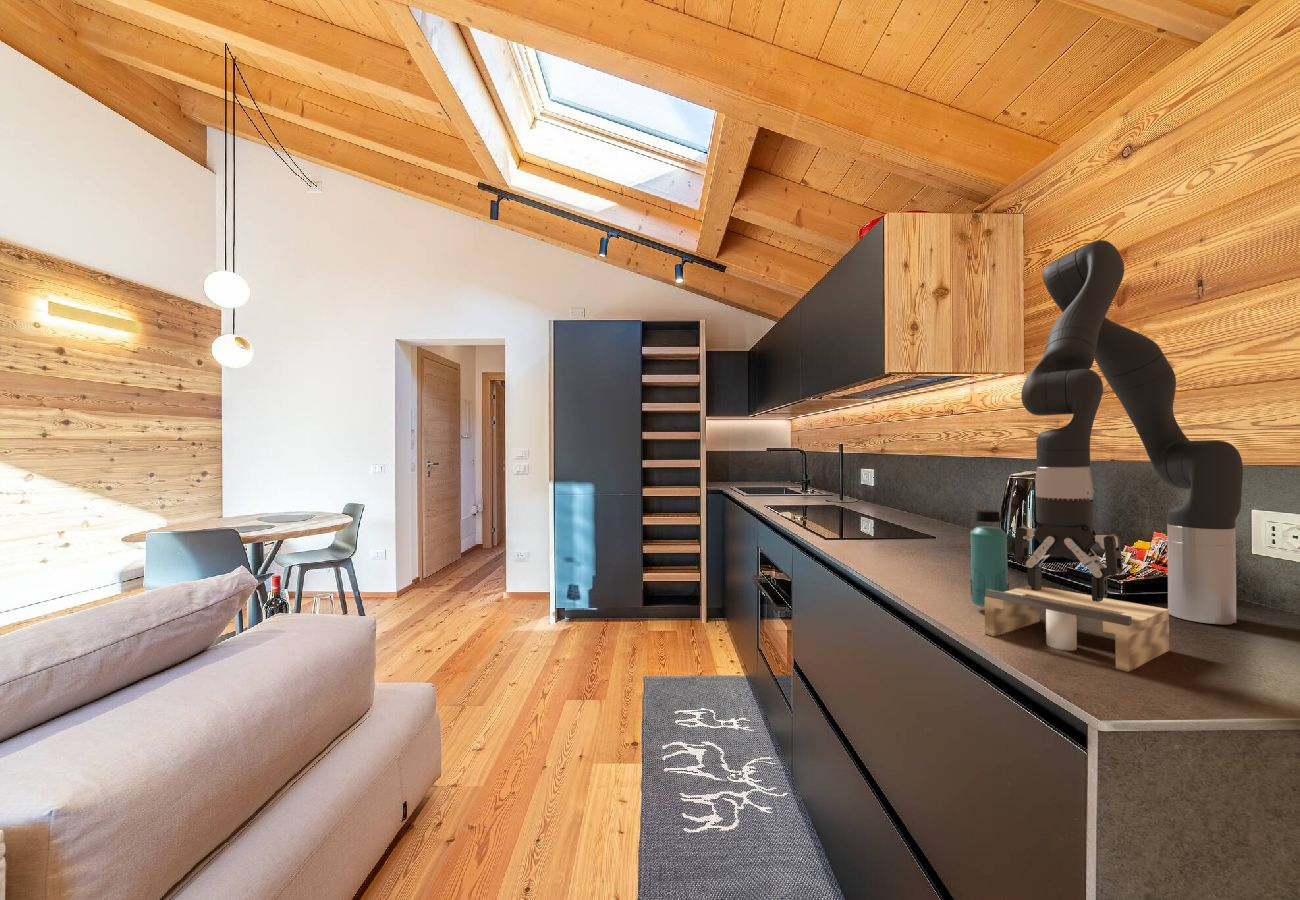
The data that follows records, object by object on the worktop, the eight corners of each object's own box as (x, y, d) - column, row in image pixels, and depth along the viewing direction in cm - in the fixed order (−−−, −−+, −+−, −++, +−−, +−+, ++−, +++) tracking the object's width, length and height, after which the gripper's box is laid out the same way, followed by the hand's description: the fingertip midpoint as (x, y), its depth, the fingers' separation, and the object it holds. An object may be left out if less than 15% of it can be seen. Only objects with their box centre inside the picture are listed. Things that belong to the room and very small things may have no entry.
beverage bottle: (1015, 617, 109) (1014, 512, 109) (976, 615, 110) (975, 511, 110) (1001, 607, 115) (1000, 508, 115) (965, 606, 117) (964, 508, 117)
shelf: (1030, 619, 107) (1030, 578, 107) (1169, 650, 90) (1168, 601, 90) (984, 634, 99) (984, 589, 99) (1128, 671, 82) (1127, 618, 82)
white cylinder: (1041, 645, 93) (1041, 608, 93) (1053, 640, 96) (1052, 604, 96) (1069, 652, 90) (1069, 614, 90) (1081, 647, 92) (1080, 610, 92)
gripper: (1005, 493, 96) (1007, 590, 96) (1107, 498, 84) (1110, 608, 84) (1026, 491, 100) (1028, 583, 100) (1127, 495, 88) (1130, 600, 88)
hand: (1066, 595), depth 92 cm, fingers open, 8 cm apart
